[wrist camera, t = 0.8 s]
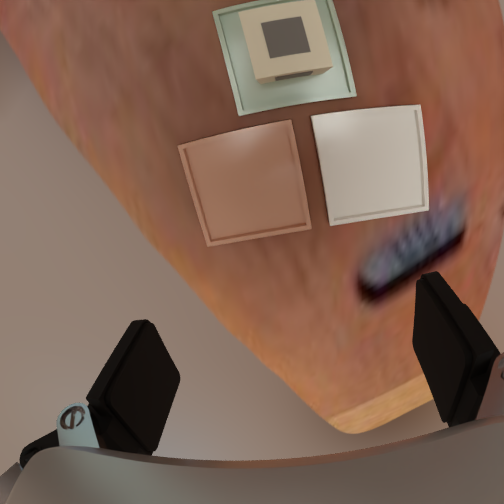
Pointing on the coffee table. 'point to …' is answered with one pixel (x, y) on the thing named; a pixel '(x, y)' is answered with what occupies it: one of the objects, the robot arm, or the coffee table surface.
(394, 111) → the dish offwhite
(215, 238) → the dish terracotta
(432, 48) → the coffee table surface
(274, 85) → the dish sage
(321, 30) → the cream cube
